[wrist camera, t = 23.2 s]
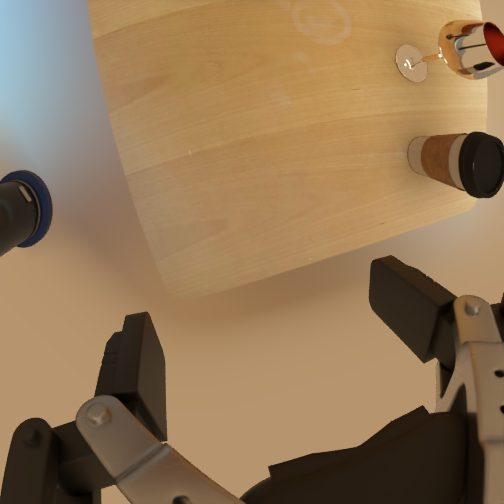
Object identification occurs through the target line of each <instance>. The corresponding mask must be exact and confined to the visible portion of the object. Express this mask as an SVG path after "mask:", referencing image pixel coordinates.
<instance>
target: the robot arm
mask: <svg viewBox="0 0 504 504" xmlns="http://www.w3.org/2000/svg"><path fill="white" fill-rule="evenodd" d="M41 218H42V207H41V202H40V198H39V196H38V194H37V192H36V190H35V189H34V188H33V186H32V185H31V184H29V183H28V182H26V181H24V180H20V179H16V180H12V181H9V182H7V183H3V184H0V257H1V256H2V255H4V254H5V253H7V252H8V251H9V250H11V249H12V248H14V247H15V246H17V245H19V244H20V243H22V242H23V241H26V240H27V239H29V238H31V237H32V236H33V235H34V234H35V233H36V232H37V230H38V228H39V226H40V223H41ZM369 302H370V305H371V308H372V310H373V311H374V312H375V313H376V314H377V315H378V316H379V317H380V318H381V320H383V322H384V323H385V324H386V325H387V326H388V327H389V328H390V329H391V330H392V331H393V332H394V333H395V334H397V336H398V337H399V338H400V339H401V340H402V341H403V342H404V343H405V344H406V345H407V346H408V347H409V348H410V349H411V350H412V352H413V353H414V354H415V355H416V356H417V357H418V358H419V359H420V360H421V361H422V362H423V363H426V362H428V361H430V360H432V359H433V358H437V359H438V362H437V365H436V409H435V413H431V414H429V413H428V411H427V410H426V409H425V407H424V406H423V405H422V406H420V407H418V408H417V409H415V410H413V411H411V412H409V413H407V414H405V415H403V416H401V417H399V418H397V419H395V420H393V421H391V422H390V423H389V424H387V425H386V426H385V427H384V428H382V429H381V430H380V431H379V432H377V433H376V434H375V435H373V436H372V437H371V438H370V439H368V440H367V441H365V442H364V443H363V444H361V445H360V446H357V447H354V448H348V449H342V450H335V451H328V452H321V453H312V454H309V455H306V456H302V457H299V458H296V459H292V460H289V461H286V462H283V463H279V464H275V465H271V466H269V467H268V468H269V472H270V477H268V478H267V479H265V480H263V481H261V482H259V483H258V484H256V485H255V486H253V487H252V488H251V489H249V490H248V491H247V492H246V493H244V494H243V496H241V497H240V498H239V499H238V498H237V497H236V496H234V495H233V494H231V493H230V492H228V491H227V490H225V489H224V488H223V487H221V486H220V485H219V484H217V483H216V482H214V481H213V480H212V479H211V478H209V477H208V476H207V475H205V474H204V473H202V472H201V471H200V470H199V469H198V468H196V467H195V466H194V465H193V464H191V463H190V462H189V461H188V460H187V459H185V458H184V457H183V456H182V455H181V454H179V453H178V452H177V451H176V450H175V449H174V448H172V447H171V446H170V445H168V444H167V443H164V444H162V443H161V442H163V441H167V421H166V383H165V358H164V354H163V350H162V347H161V344H160V342H159V339H158V336H157V334H156V331H155V328H154V325H153V323H152V320H151V317H150V315H149V313H148V312H141V313H137V314H131V315H126V317H125V321H124V325H123V329H122V331H120V332H115V333H114V334H113V335H112V337H111V338H110V339H109V341H108V342H107V344H106V347H105V352H104V356H103V359H102V366H101V368H100V372H99V377H98V381H97V386H96V390H95V396H94V398H92V399H90V400H88V401H87V402H85V403H84V404H83V405H82V406H81V407H80V409H79V410H78V412H77V415H76V420H75V421H72V422H69V423H66V424H63V425H60V426H58V427H54V428H51V426H50V425H49V424H48V423H47V422H46V421H45V420H43V419H41V418H30V419H27V420H25V421H24V422H22V423H21V424H20V425H19V426H18V427H17V429H16V430H15V432H14V434H13V437H12V441H11V445H10V449H9V453H8V458H7V462H6V467H5V472H4V477H3V483H2V489H1V496H0V504H101V489H102V488H105V487H108V486H112V485H116V486H117V488H118V489H119V490H120V491H121V493H122V494H123V495H124V496H125V497H126V498H127V499H128V501H129V502H130V503H131V504H504V293H503V297H502V300H501V303H497V304H492V305H489V303H488V302H486V301H485V300H483V299H482V298H480V297H477V296H473V295H463V296H460V297H456V296H455V295H454V294H452V293H451V292H449V291H448V290H447V289H445V288H444V287H443V286H441V285H440V284H438V283H437V282H434V281H433V279H431V278H430V277H428V276H426V275H425V274H424V273H422V272H421V271H420V270H418V269H416V268H414V267H411V266H408V265H406V264H404V263H403V262H401V261H400V260H398V259H397V258H395V257H394V256H392V255H390V256H386V257H382V258H378V259H375V260H373V261H372V263H371V269H370V286H369Z"/></svg>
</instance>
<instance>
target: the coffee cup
mask: <svg viewBox="0 0 504 504" xmlns="http://www.w3.org/2000/svg"><path fill="white" fill-rule="evenodd" d="M408 161H409V164H410V166H411V168H412V169H413V170H414V171H415V172H417V173H418V174H421V175H424V176H427V177H430V178H432V179H435V180H437V181H440V182H442V183H445V184H447V185H450V186H452V187H454V188H457V189H459V190H462V191H466V192H467V193H468V194H469V195H471V196H473V197H476V198H491V197H493V196H494V195H496V194H497V192H498V191H499V190H500V188H501V186H502V184H503V182H504V145H503V143H502V142H501V140H500V139H498V138H497V137H494V136H491V135H488V134H486V133H483V132H472V133H470V134H466V133H462V134H448V135H437V136H426V137H417V138H415V139H414V140H413V141H412V142H411V144H410V146H409V149H408Z"/></svg>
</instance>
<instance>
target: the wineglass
mask: <svg viewBox="0 0 504 504" xmlns="http://www.w3.org/2000/svg"><path fill="white" fill-rule="evenodd" d="M438 46H439V51H440V52H439V53H437V54H434V55H430V56H426V57H424V56H423V55H422V54H421V52H420V51H419V50H418V49H416V48H415V47H413V46H411V45H402V46H400V47H399V48H398V49H397V51H396V64H397V66H398V69H399V70H400V72H401V73H402V75H403V76H404V77H405V78H407V79H408V80H410V81H412V82H421V81H423V80H424V79H425V77H426V75H427V63H426V62H427V61H431V60H436V59H440V58H441V59H443V60H444V62H445V63H446V64H447V66H448V67H449V68H450V69H451V70H452V71H454V72H455V73H456V74H458V75H459V76H461V77H463V78H466V79H469V80H479V79H483V78H485V77H488V76H490V75H492V74H494V73H496V72H498V71H500V70H502V69H504V35H503V33H502V32H501V30H500V29H499V28H498V27H497V26H496V25H495V24H494V23H492V22H489V21H480V20H453V21H450V22H448V23H446V24H445V25H444V26H443V27H442V29H441V31H440V33H439V38H438Z"/></svg>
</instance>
